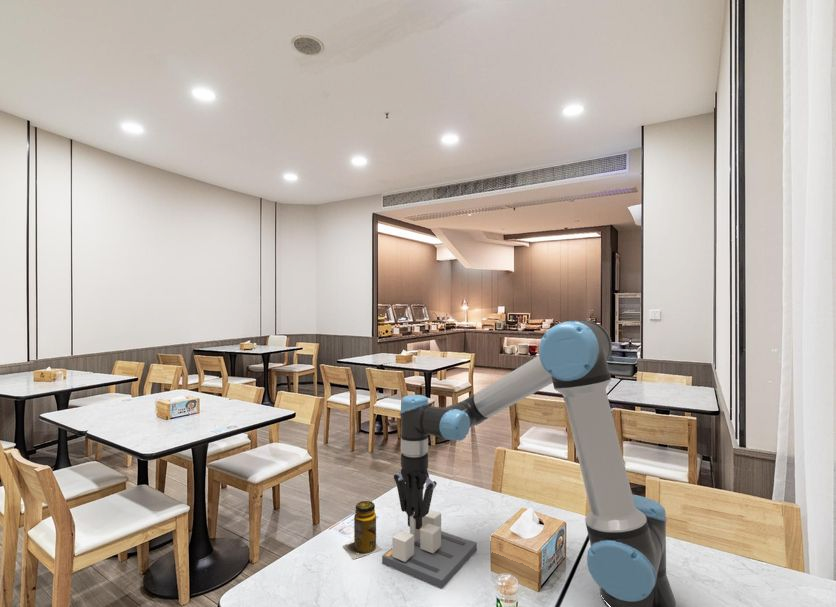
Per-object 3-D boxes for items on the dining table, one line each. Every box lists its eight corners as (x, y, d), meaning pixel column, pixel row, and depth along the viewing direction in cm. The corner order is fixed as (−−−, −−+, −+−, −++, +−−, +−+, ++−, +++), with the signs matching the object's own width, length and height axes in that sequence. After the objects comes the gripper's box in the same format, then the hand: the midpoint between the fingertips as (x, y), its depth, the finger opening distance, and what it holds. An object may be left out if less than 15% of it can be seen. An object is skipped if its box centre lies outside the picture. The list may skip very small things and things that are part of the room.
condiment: (381, 549, 117) (381, 506, 117) (353, 560, 112) (353, 514, 112) (369, 537, 123) (369, 496, 123) (342, 547, 118) (342, 503, 118)
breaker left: (414, 554, 110) (414, 534, 110) (405, 561, 107) (405, 541, 107) (401, 549, 112) (401, 530, 112) (392, 556, 109) (392, 537, 109)
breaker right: (441, 530, 122) (441, 512, 122) (434, 536, 119) (434, 518, 119) (429, 526, 124) (429, 509, 124) (422, 532, 121) (422, 514, 121)
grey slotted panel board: (476, 550, 116) (476, 542, 116) (441, 588, 100) (441, 580, 100) (421, 531, 126) (421, 524, 126) (382, 563, 110) (382, 555, 110)
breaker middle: (441, 546, 114) (440, 527, 114) (433, 553, 111) (433, 534, 111) (428, 541, 116) (428, 523, 116) (420, 548, 113) (420, 529, 113)
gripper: (441, 453, 116) (442, 540, 116) (403, 444, 123) (403, 526, 123) (427, 461, 110) (427, 553, 109) (387, 452, 117) (387, 538, 117)
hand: (414, 539), depth 116 cm, fingers closed
